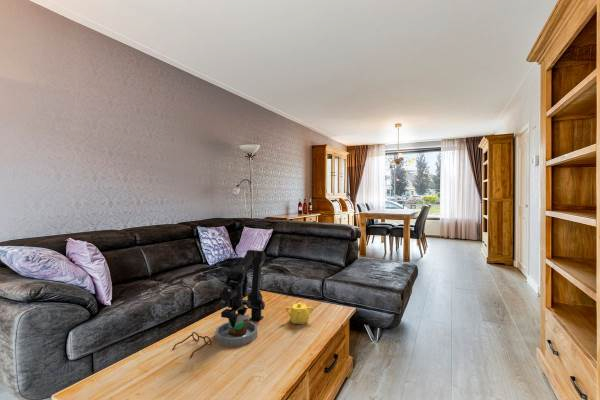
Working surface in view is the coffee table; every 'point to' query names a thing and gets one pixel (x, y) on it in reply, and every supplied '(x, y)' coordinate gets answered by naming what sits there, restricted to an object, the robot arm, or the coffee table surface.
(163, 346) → the coffee table surface
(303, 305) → the teapot
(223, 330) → the bowl
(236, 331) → the food container
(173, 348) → the glasses
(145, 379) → the coffee table surface
